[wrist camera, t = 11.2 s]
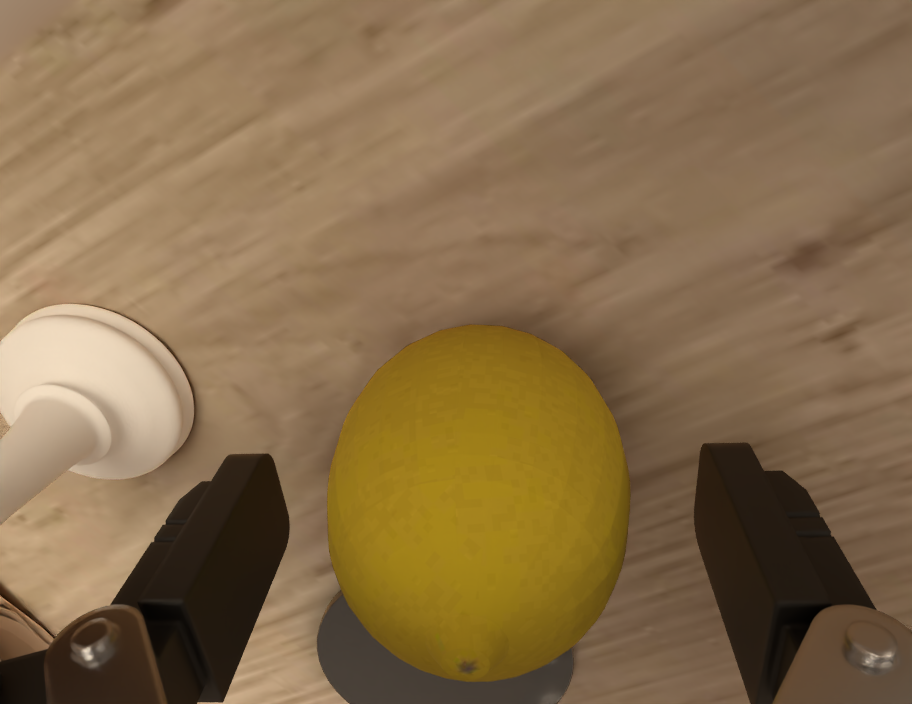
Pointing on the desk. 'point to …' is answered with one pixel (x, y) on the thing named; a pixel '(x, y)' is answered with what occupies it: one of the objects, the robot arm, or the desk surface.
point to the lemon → (478, 504)
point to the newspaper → (19, 633)
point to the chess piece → (86, 401)
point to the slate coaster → (418, 671)
